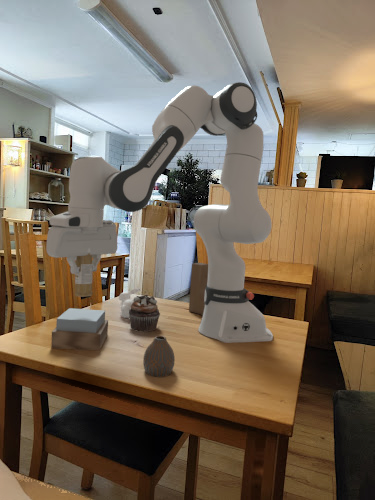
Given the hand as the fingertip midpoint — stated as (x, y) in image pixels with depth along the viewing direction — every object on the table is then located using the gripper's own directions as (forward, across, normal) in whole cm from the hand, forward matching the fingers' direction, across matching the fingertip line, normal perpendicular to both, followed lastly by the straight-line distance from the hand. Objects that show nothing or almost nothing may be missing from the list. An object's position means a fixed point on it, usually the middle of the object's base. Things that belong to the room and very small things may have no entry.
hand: (83, 272), depth 97 cm
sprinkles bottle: (+6, 0, 0) cm, 6 cm away
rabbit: (+19, -27, -8) cm, 34 cm away
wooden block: (+19, -49, +6) cm, 53 cm away
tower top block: (+14, 0, 0) cm, 14 cm away
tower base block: (+19, 0, 0) cm, 19 cm away
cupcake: (+19, -21, +3) cm, 29 cm away
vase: (+19, 0, +28) cm, 34 cm away
